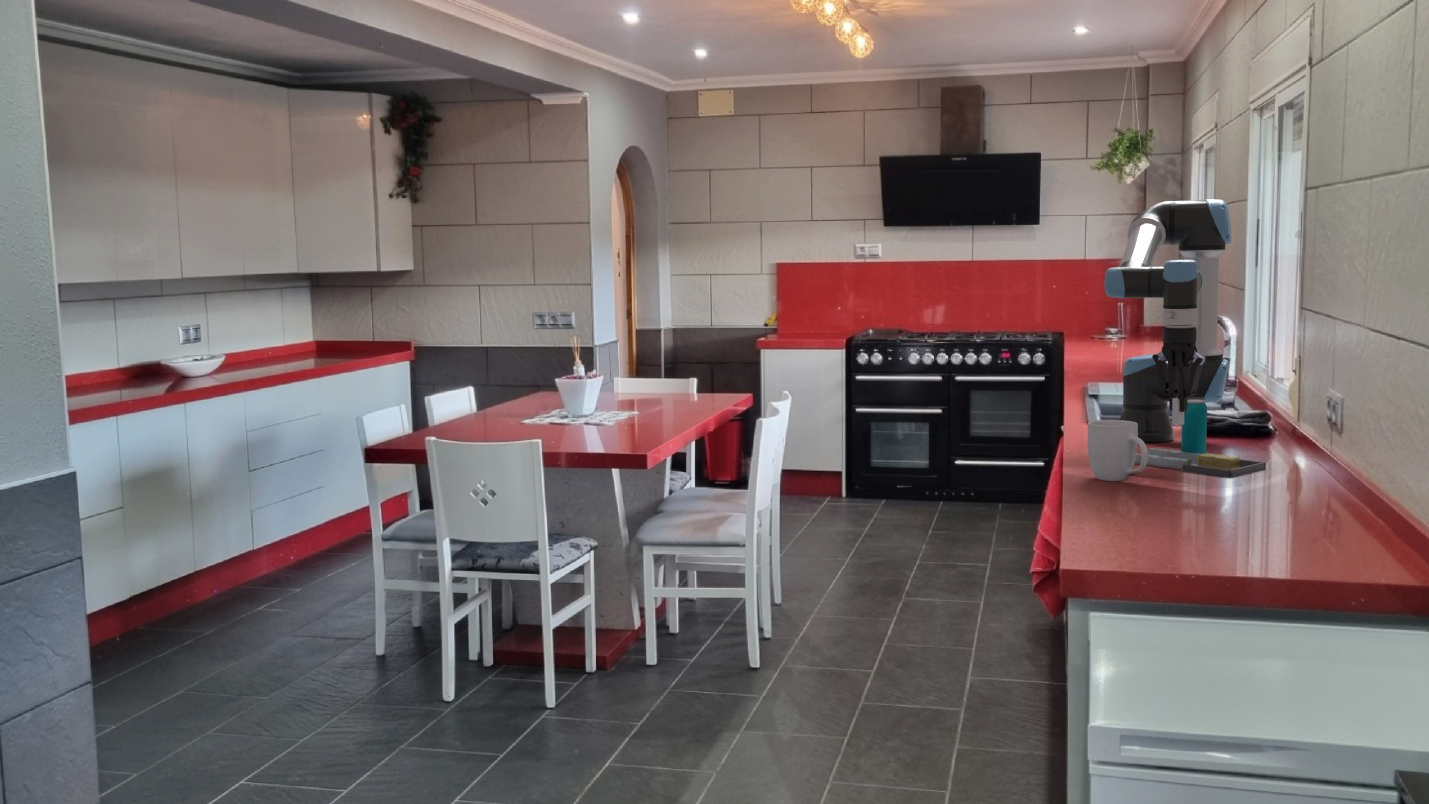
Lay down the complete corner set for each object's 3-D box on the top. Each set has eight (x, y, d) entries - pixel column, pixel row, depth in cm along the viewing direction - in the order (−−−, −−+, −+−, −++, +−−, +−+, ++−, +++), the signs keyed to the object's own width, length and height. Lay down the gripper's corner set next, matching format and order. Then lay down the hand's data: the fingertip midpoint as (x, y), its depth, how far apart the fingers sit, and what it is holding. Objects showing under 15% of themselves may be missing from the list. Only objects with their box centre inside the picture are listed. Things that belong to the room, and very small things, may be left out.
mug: (1161, 481, 279) (1162, 424, 277) (1130, 487, 273) (1131, 429, 271) (1107, 472, 291) (1108, 418, 290) (1076, 478, 285) (1077, 422, 284)
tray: (1217, 468, 292) (1217, 456, 292) (1265, 475, 283) (1265, 462, 283) (1182, 477, 283) (1182, 464, 283) (1230, 484, 274) (1230, 470, 274)
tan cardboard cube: (1223, 472, 285) (1223, 455, 285) (1239, 474, 282) (1239, 457, 282) (1213, 474, 283) (1214, 457, 283) (1230, 476, 280) (1230, 459, 279)
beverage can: (1201, 458, 307) (1203, 398, 305) (1208, 462, 301) (1210, 401, 299) (1178, 458, 307) (1179, 399, 306) (1184, 462, 302) (1185, 402, 300)
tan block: (1206, 470, 289) (1207, 453, 288) (1222, 472, 285) (1223, 455, 285) (1197, 472, 286) (1197, 455, 286) (1213, 474, 283) (1213, 457, 283)
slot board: (1153, 461, 304) (1153, 447, 304) (1213, 469, 292) (1213, 455, 291) (1124, 467, 297) (1125, 453, 296) (1185, 476, 284) (1185, 461, 284)
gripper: (1145, 326, 291) (1144, 424, 295) (1196, 328, 281) (1194, 430, 284) (1163, 323, 296) (1162, 419, 299) (1214, 325, 285) (1212, 425, 289)
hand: (1178, 424), depth 292 cm, fingers closed
